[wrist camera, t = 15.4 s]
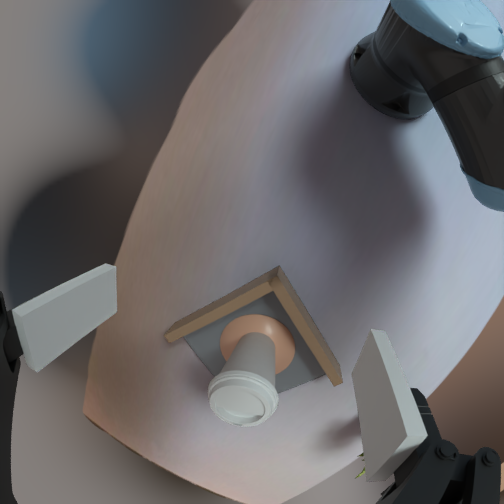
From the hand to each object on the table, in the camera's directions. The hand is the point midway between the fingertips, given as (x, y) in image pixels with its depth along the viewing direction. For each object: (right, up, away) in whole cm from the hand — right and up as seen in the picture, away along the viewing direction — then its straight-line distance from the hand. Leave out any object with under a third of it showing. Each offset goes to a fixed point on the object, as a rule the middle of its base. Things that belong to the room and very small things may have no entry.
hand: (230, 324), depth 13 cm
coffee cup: (+2, -13, +33) cm, 36 cm away
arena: (+2, -13, +34) cm, 36 cm away
